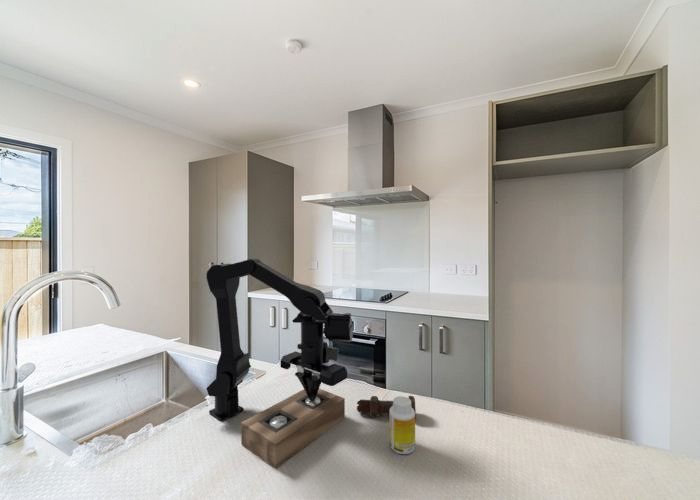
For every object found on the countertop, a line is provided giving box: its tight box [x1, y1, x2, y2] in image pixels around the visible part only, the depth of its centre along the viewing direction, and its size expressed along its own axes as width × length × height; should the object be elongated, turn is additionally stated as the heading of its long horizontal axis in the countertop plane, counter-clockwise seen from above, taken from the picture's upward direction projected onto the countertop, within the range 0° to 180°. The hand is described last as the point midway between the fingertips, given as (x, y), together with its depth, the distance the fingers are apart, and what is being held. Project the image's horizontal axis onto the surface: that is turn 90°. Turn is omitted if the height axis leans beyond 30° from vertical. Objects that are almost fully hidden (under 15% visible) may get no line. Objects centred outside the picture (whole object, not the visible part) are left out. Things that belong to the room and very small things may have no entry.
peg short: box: [305, 397, 320, 406], centre depth 75 cm, size 4×4×5 cm
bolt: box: [356, 395, 417, 421], centre depth 77 cm, size 6×5×15 cm
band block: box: [240, 387, 346, 470], centre depth 71 cm, size 12×22×5 cm, turn 142°
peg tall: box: [270, 416, 287, 429], centre depth 66 cm, size 4×4×5 cm
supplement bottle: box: [388, 395, 416, 455], centre depth 64 cm, size 6×6×10 cm
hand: (312, 400), depth 75 cm, fingers closed, pressing on peg short
